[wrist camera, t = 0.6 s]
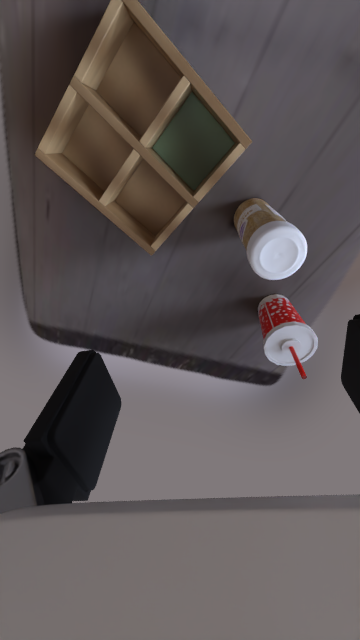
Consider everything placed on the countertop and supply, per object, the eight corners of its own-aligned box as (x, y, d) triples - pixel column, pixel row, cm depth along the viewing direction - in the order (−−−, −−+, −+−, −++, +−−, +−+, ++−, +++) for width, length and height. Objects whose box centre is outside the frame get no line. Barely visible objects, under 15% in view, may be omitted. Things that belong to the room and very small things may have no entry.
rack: (133, 6, 24) (120, -21, 20) (245, 142, 29) (252, 141, 25) (55, 153, 30) (33, 154, 27) (156, 244, 35) (151, 256, 31)
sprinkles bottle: (231, 201, 32) (248, 231, 21) (271, 194, 31) (311, 221, 20) (234, 239, 34) (250, 285, 23) (271, 233, 34) (307, 277, 22)
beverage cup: (269, 332, 42) (296, 405, 30) (243, 308, 40) (261, 376, 28) (304, 308, 39) (348, 378, 27) (278, 280, 37) (314, 343, 25)
